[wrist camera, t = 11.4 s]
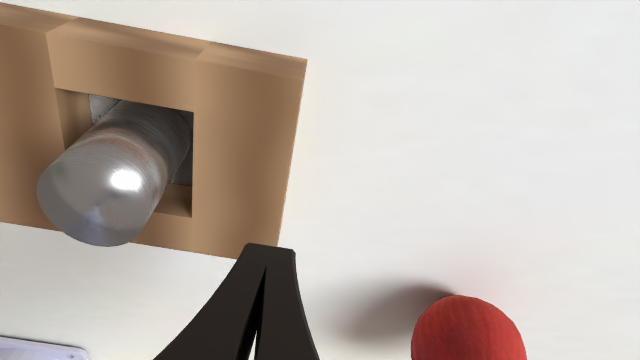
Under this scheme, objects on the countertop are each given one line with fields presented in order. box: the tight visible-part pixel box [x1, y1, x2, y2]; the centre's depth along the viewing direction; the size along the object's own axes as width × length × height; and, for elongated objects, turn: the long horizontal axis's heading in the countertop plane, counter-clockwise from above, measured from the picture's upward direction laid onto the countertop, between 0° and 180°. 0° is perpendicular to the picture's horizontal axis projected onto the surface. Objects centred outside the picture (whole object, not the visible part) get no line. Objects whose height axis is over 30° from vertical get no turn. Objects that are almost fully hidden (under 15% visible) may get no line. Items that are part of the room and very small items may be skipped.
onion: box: [411, 295, 527, 360], centre depth 24 cm, size 6×6×8 cm
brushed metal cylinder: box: [36, 100, 191, 247], centre depth 19 cm, size 4×4×6 cm
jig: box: [0, 3, 307, 259], centre depth 21 cm, size 14×10×2 cm
